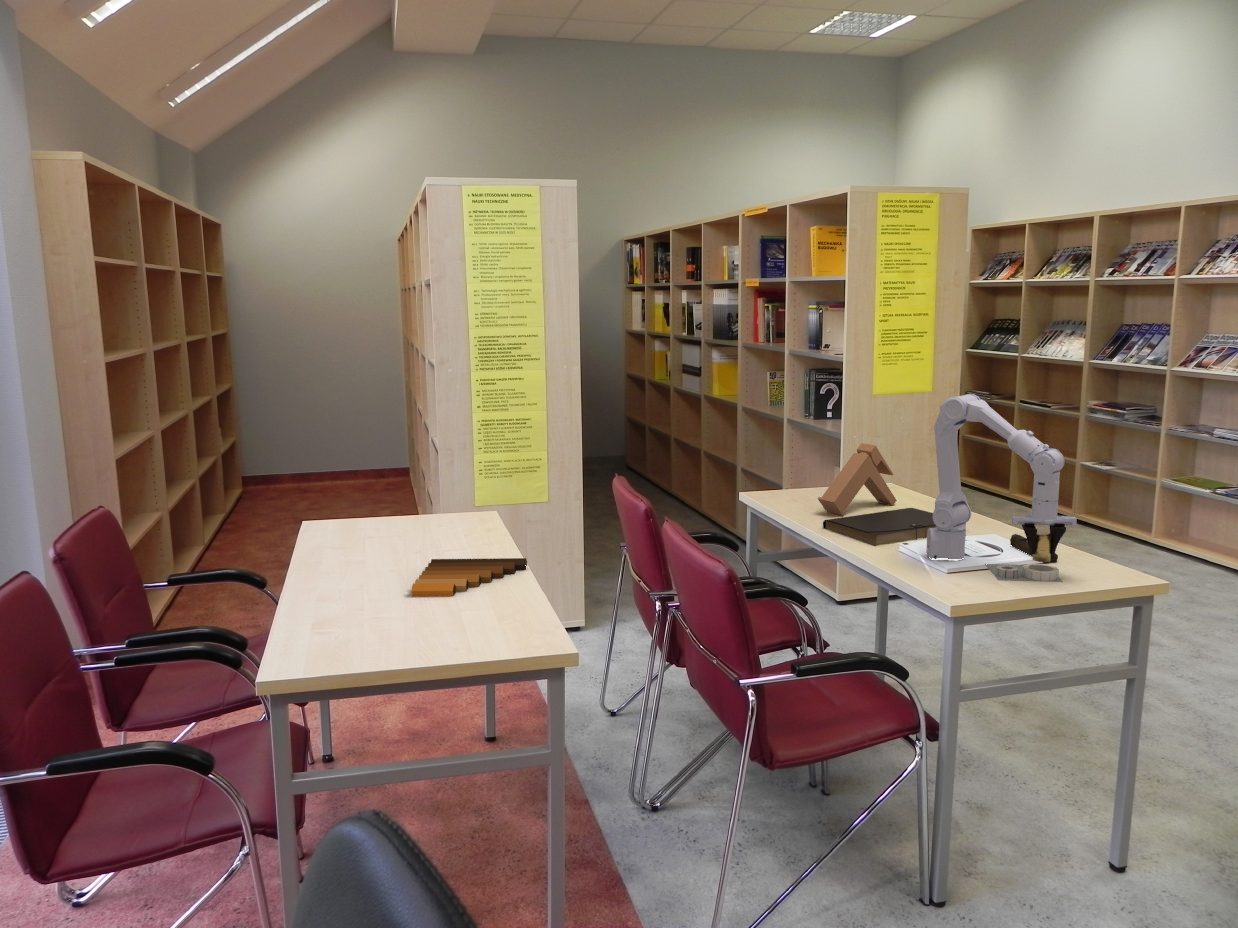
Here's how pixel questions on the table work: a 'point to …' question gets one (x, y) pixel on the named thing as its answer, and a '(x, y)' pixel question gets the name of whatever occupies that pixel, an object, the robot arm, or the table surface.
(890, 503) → the wooden a-frame
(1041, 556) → the round peg
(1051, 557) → the brown wooden stick
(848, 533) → the dark brown book
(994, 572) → the fitting board
